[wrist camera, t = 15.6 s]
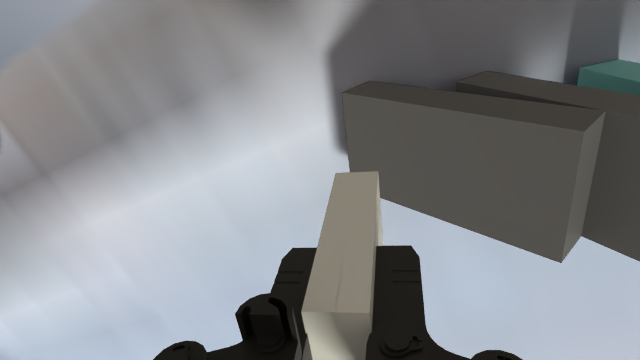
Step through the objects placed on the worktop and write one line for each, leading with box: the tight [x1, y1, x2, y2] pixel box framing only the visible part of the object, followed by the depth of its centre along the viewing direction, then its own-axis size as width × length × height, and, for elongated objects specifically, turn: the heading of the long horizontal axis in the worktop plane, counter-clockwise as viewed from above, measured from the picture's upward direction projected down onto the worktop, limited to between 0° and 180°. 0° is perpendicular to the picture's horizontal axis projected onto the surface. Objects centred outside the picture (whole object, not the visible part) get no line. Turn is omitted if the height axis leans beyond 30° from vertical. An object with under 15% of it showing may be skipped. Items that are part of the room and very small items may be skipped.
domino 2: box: [457, 71, 640, 261], centre depth 16 cm, size 2×5×10 cm
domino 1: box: [342, 81, 606, 263], centre depth 18 cm, size 2×5×10 cm
